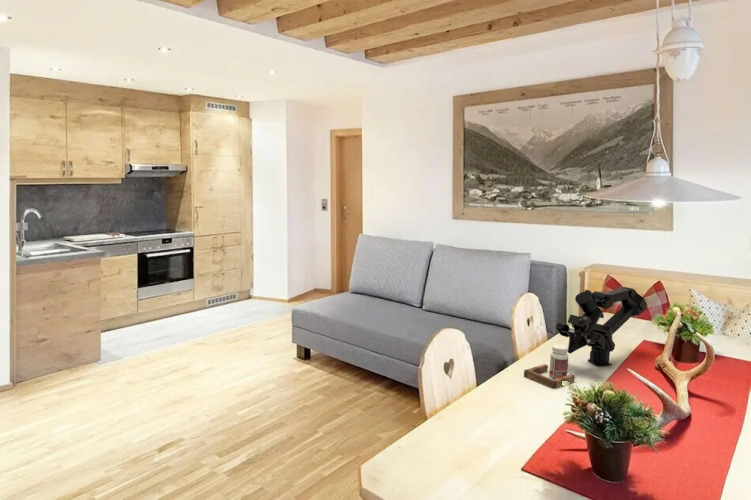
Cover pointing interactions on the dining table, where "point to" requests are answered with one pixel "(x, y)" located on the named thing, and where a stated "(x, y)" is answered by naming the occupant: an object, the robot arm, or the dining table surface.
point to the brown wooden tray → (535, 376)
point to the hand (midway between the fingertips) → (568, 352)
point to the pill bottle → (558, 361)
